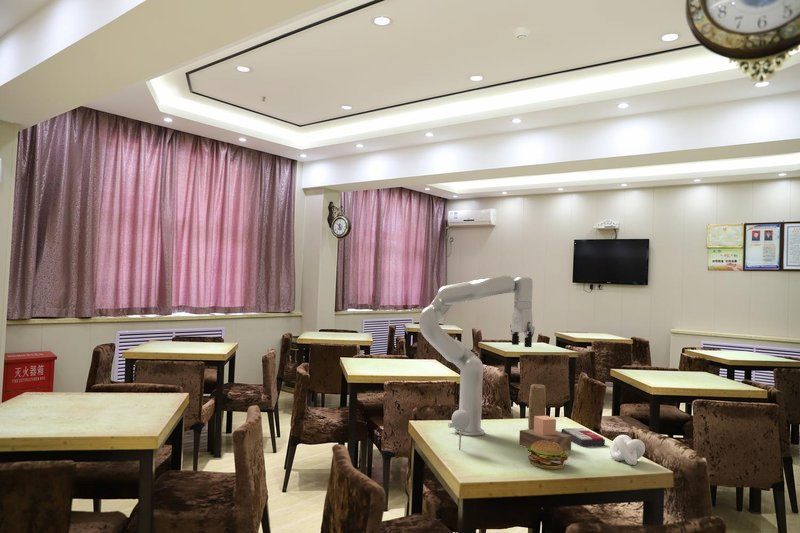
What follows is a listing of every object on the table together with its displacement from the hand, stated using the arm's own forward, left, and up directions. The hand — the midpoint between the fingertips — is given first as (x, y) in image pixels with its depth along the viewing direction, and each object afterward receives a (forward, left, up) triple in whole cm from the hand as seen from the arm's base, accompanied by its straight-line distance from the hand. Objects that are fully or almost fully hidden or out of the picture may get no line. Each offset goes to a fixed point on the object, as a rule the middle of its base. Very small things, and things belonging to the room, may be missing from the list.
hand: (521, 345), depth 221 cm
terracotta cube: (+2, -16, -33) cm, 36 cm away
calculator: (+24, -11, -39) cm, 47 cm away
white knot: (+22, -37, -39) cm, 58 cm away
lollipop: (-34, -13, -38) cm, 53 cm away
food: (-10, -34, -39) cm, 53 cm away
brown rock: (+16, +10, -38) cm, 43 cm away
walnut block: (+2, -16, -39) cm, 42 cm away
